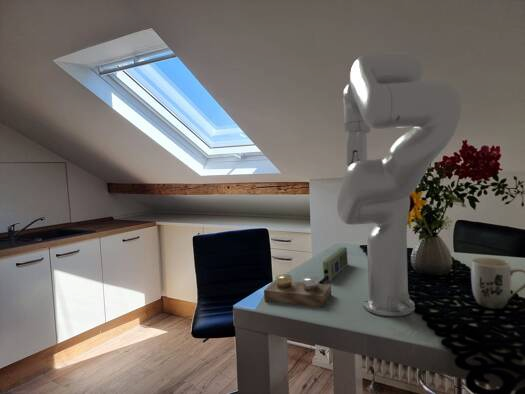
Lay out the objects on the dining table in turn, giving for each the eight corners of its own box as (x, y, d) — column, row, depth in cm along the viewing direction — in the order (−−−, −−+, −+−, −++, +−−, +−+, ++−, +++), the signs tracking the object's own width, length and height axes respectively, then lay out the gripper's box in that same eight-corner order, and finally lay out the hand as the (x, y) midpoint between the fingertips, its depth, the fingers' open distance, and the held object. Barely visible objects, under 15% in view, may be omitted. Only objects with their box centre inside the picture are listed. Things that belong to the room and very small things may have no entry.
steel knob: (322, 299, 102) (321, 279, 101) (307, 301, 101) (306, 282, 100) (315, 293, 106) (315, 275, 105) (301, 296, 105) (300, 277, 104)
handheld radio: (349, 265, 134) (326, 287, 112) (340, 264, 135) (316, 286, 114) (348, 247, 133) (324, 266, 112) (339, 247, 135) (314, 265, 113)
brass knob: (294, 296, 105) (293, 277, 104) (279, 298, 104) (278, 280, 103) (289, 291, 109) (288, 273, 109) (275, 293, 108) (274, 275, 108)
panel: (331, 294, 105) (330, 284, 105) (323, 307, 97) (322, 296, 97) (276, 289, 112) (275, 280, 112) (264, 300, 104) (263, 290, 104)
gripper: (349, 130, 121) (351, 186, 123) (339, 128, 107) (342, 191, 109) (372, 128, 118) (374, 185, 120) (366, 126, 104) (368, 190, 106)
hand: (359, 188), depth 114 cm, fingers closed
